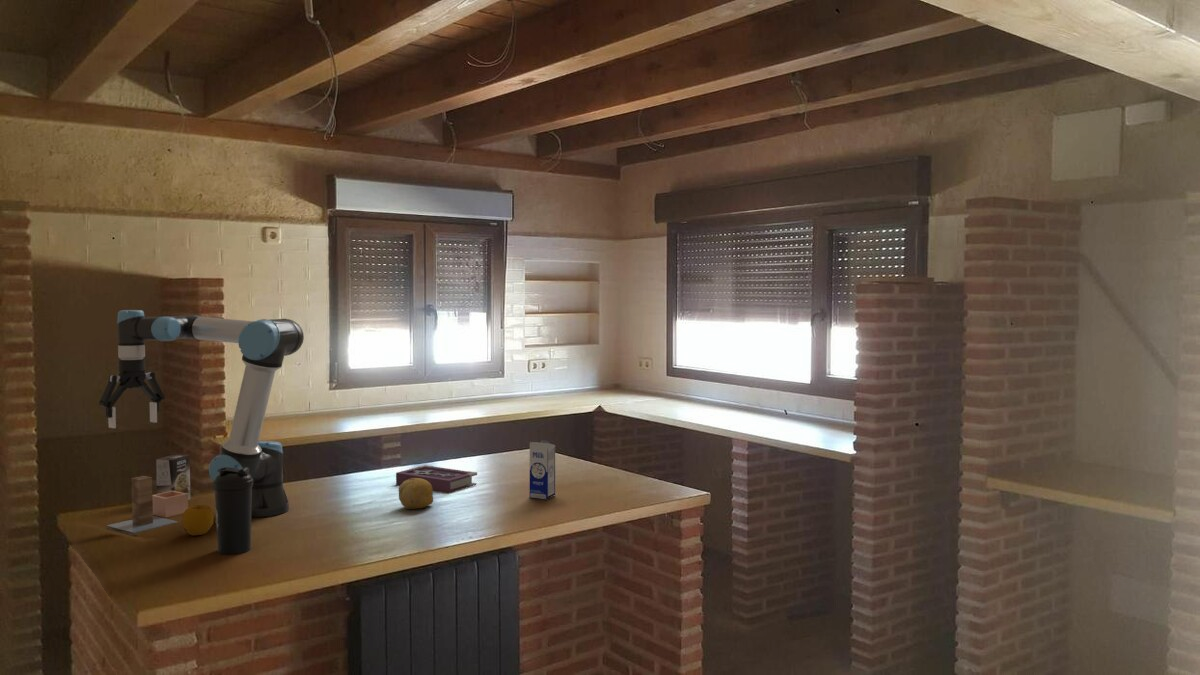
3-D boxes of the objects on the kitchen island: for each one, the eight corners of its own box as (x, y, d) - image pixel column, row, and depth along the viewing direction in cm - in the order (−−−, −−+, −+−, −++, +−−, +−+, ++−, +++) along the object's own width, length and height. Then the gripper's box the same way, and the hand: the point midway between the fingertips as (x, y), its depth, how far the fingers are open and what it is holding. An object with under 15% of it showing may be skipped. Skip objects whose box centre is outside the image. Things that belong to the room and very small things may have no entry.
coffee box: (173, 508, 289) (172, 459, 288) (156, 507, 290) (155, 458, 289) (191, 501, 298) (190, 454, 297) (174, 500, 299) (173, 453, 298)
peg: (153, 522, 266) (152, 477, 266) (140, 525, 263) (139, 479, 262) (145, 521, 268) (144, 475, 268) (132, 523, 265) (131, 478, 264)
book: (477, 485, 327) (477, 472, 327) (449, 494, 313) (449, 480, 313) (425, 477, 340) (425, 464, 339) (395, 485, 326) (395, 472, 325)
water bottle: (221, 545, 248) (220, 464, 247) (258, 544, 249) (257, 464, 248) (208, 556, 238) (207, 472, 237) (247, 555, 239) (246, 472, 238)
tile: (178, 525, 268) (178, 521, 268) (134, 536, 256) (134, 532, 256) (151, 518, 275) (151, 515, 275) (106, 529, 263) (106, 525, 263)
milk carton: (529, 498, 306) (529, 441, 305) (537, 493, 313) (537, 438, 311) (547, 500, 304) (547, 442, 303) (555, 495, 310) (555, 439, 309)
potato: (440, 506, 294) (440, 477, 293) (410, 514, 284) (410, 483, 283) (420, 501, 300) (420, 472, 299) (390, 508, 290) (390, 479, 290)
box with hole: (188, 515, 280) (187, 493, 280) (165, 520, 273) (165, 498, 273) (173, 512, 284) (173, 490, 283) (151, 517, 277) (150, 495, 277)
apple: (193, 540, 253) (192, 510, 252) (176, 535, 257) (175, 506, 257) (220, 533, 260) (219, 504, 259) (202, 529, 264) (202, 500, 264)
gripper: (161, 355, 291) (163, 419, 292) (85, 360, 270) (87, 429, 271) (175, 356, 287) (176, 420, 288) (99, 361, 266) (100, 431, 267)
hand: (133, 425), depth 280 cm, fingers open, 13 cm apart
